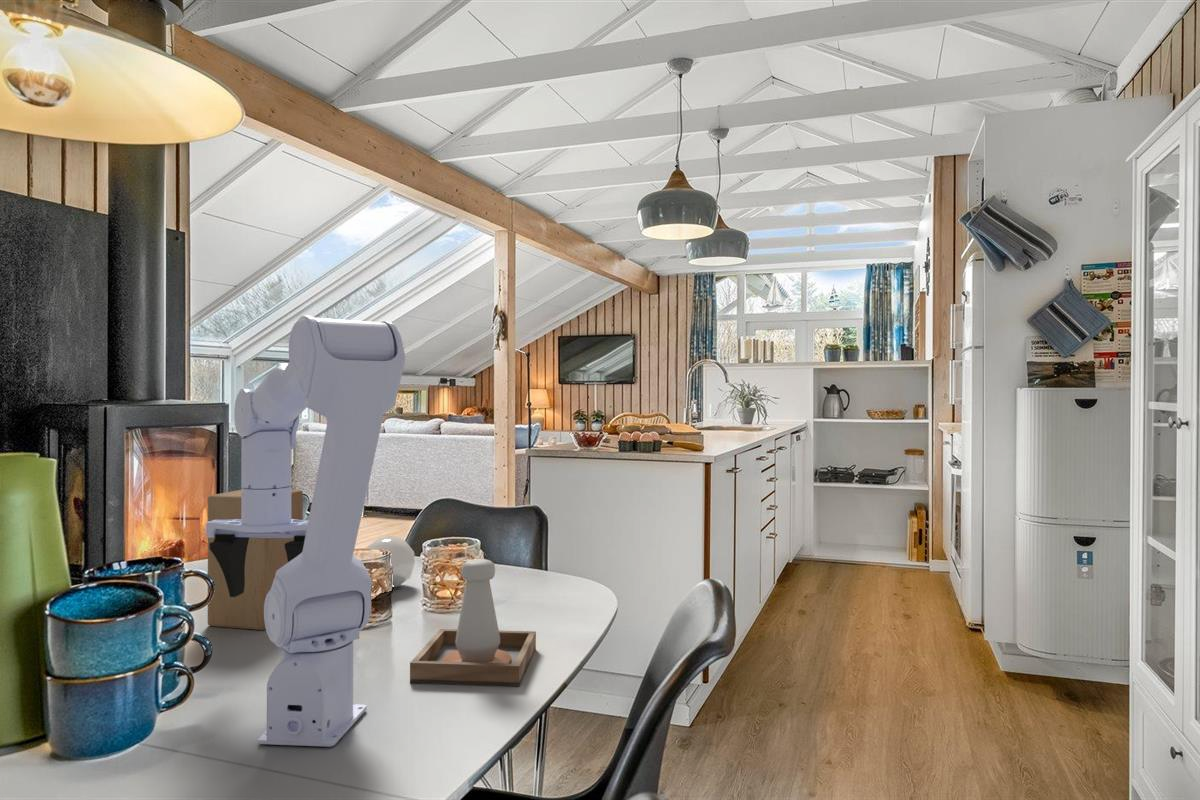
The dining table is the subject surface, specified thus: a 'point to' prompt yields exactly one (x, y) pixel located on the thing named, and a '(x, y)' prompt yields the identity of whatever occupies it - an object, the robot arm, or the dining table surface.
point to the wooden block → (246, 567)
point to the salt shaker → (477, 614)
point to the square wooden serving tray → (435, 671)
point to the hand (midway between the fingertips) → (266, 595)
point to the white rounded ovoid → (397, 557)
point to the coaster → (498, 658)
